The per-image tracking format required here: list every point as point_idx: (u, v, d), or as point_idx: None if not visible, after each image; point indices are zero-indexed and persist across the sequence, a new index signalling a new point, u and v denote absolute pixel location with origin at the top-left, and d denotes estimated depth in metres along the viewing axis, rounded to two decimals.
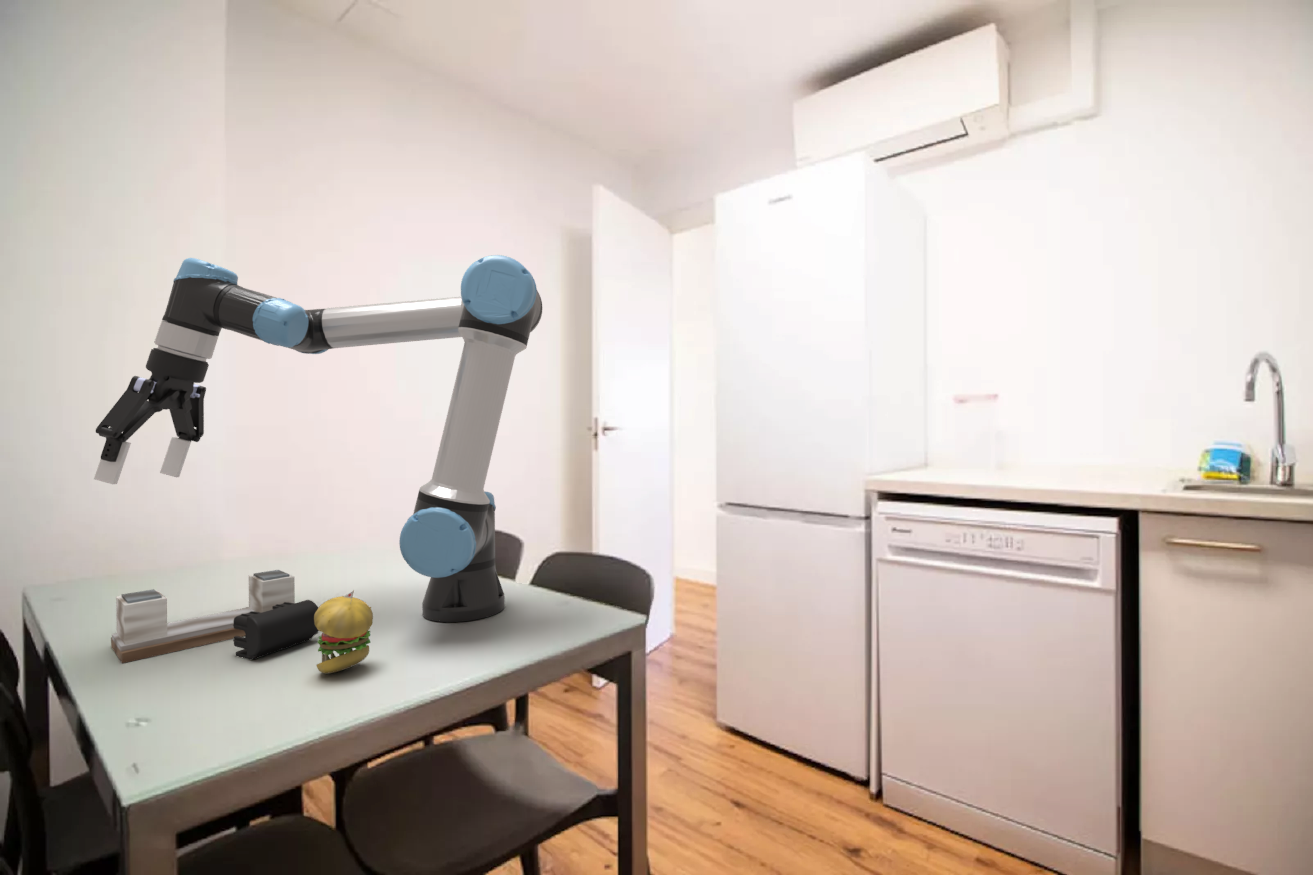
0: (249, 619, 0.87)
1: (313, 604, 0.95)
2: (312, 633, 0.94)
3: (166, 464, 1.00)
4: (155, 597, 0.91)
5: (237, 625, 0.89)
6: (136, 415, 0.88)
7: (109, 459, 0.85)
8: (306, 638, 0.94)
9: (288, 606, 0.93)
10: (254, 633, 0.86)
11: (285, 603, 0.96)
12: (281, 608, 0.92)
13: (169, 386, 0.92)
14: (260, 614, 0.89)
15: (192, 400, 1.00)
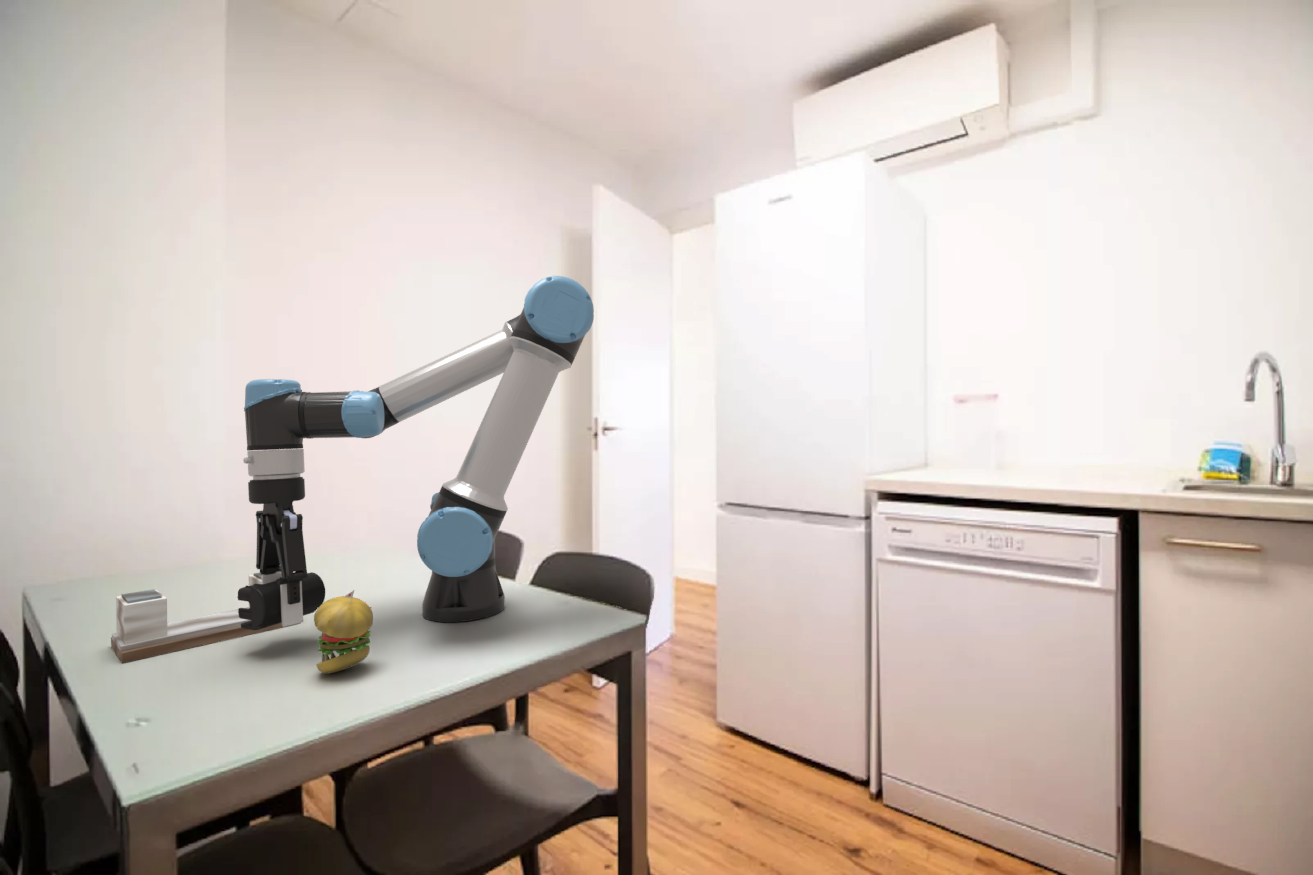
0: (253, 589, 0.87)
1: (317, 576, 0.95)
2: (316, 605, 0.95)
3: None
4: (155, 597, 0.91)
5: (241, 596, 0.89)
6: None
7: (298, 600, 0.89)
8: (310, 609, 0.94)
9: None
10: (258, 603, 0.87)
11: None
12: None
13: None
14: (264, 585, 0.89)
15: None
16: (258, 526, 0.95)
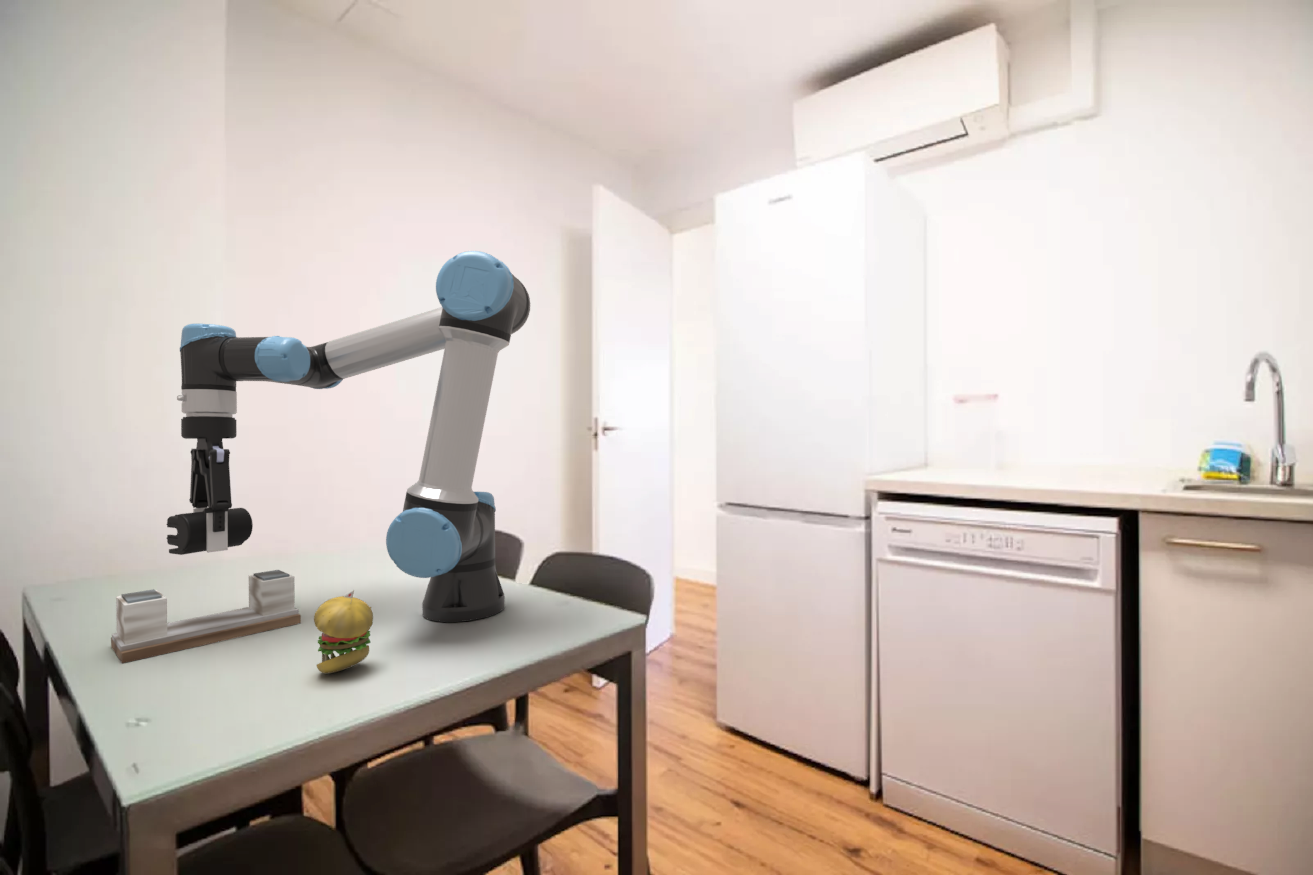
0: (180, 516, 0.94)
1: (245, 511, 1.02)
2: (243, 537, 1.01)
3: None
4: (155, 597, 0.91)
5: (170, 523, 0.96)
6: None
7: (223, 529, 0.96)
8: (237, 541, 1.01)
9: None
10: (184, 528, 0.94)
11: None
12: None
13: None
14: (191, 513, 0.96)
15: None
16: (192, 462, 1.02)
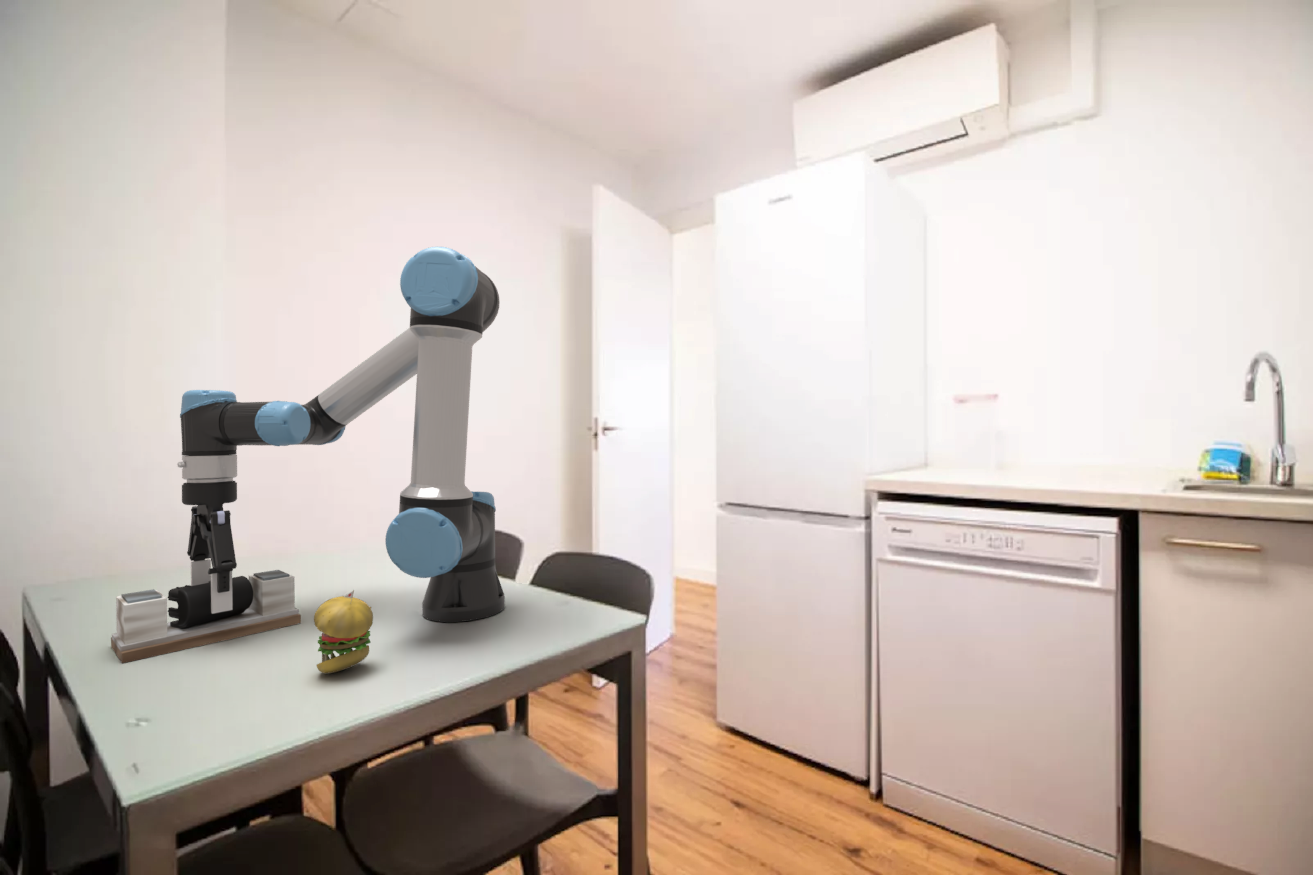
0: (180, 591, 0.94)
1: (246, 580, 1.02)
2: (244, 606, 1.01)
3: None
4: (155, 597, 0.91)
5: (171, 597, 0.96)
6: None
7: (228, 589, 0.94)
8: (238, 611, 1.01)
9: None
10: (184, 604, 0.94)
11: None
12: None
13: None
14: (191, 587, 0.96)
15: None
16: (192, 520, 1.02)
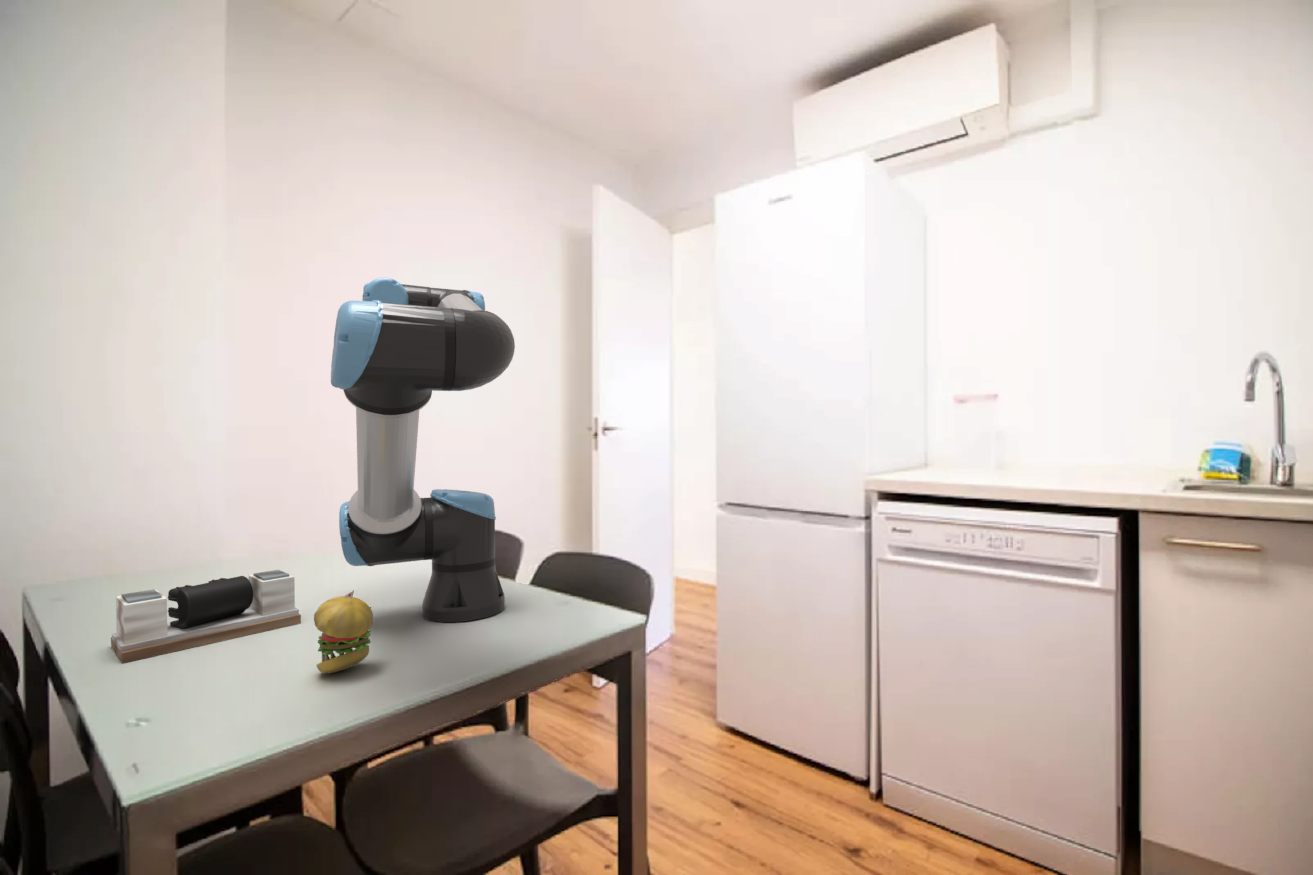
0: (180, 591, 0.94)
1: (246, 580, 1.02)
2: (244, 606, 1.01)
3: None
4: (155, 597, 0.91)
5: (171, 597, 0.96)
6: None
7: None
8: (238, 611, 1.01)
9: (221, 581, 1.00)
10: (184, 604, 0.94)
11: (221, 579, 1.03)
12: (213, 582, 0.99)
13: None
14: (191, 587, 0.96)
15: None
16: None
